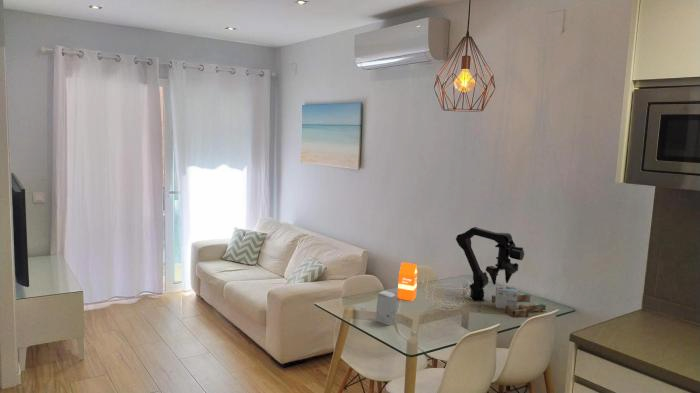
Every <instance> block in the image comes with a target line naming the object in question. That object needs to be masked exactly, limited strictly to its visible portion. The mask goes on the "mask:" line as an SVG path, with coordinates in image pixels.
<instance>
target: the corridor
mask: <svg viewBox="0 0 700 393" xmlns="http://www.w3.org/2000/svg"><path fill="white" fill-rule="evenodd" d="M531 296H532V295H531V294H530V293H519V294H517V303H519V302H521V303H522V302H525V301H526V302H531ZM495 297H496V294H495V295H491V302H492V303H495ZM546 306H547V304H546V303H545V302H544V303H534V304H519V305H518V309H513V308H511V307H510V306H505V309H504V313H506V314H507V315H509V316H510V317H512V318H529V313H534V312H533V311H543V310H545V311H546V308H547V307H546Z"/></svg>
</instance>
